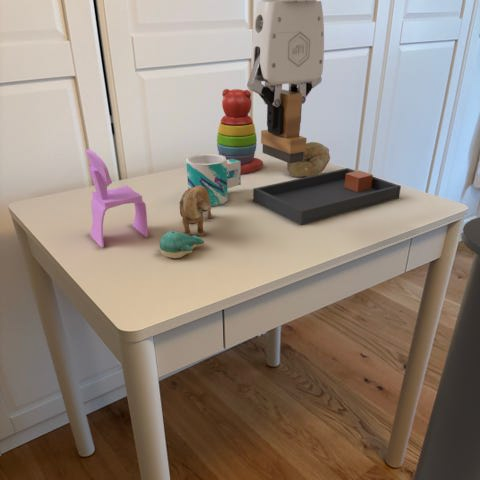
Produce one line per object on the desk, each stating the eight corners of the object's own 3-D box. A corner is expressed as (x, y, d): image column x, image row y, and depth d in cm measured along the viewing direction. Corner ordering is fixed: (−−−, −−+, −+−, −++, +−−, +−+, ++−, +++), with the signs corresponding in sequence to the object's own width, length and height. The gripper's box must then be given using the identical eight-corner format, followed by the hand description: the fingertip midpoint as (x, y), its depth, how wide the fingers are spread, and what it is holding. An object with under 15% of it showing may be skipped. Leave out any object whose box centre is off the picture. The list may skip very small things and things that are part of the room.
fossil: (285, 145, 116) (328, 136, 113) (289, 155, 120) (330, 148, 117) (286, 178, 113) (330, 171, 111) (290, 188, 117) (332, 181, 115)
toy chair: (153, 238, 85) (143, 149, 77) (104, 250, 81) (87, 157, 73) (135, 223, 91) (123, 139, 83) (88, 233, 87) (71, 146, 79)
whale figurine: (154, 251, 81) (151, 229, 79) (193, 240, 84) (191, 219, 82) (170, 264, 77) (168, 241, 75) (210, 252, 80) (209, 230, 78)
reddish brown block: (371, 188, 105) (373, 174, 103) (357, 192, 103) (359, 178, 101) (357, 184, 107) (359, 170, 106) (344, 187, 106) (345, 173, 104)
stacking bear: (265, 165, 122) (266, 86, 113) (251, 176, 115) (251, 93, 105) (225, 161, 126) (223, 84, 116) (209, 172, 118) (205, 91, 108)
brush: (305, 161, 76) (309, 94, 71) (289, 164, 75) (292, 96, 70) (275, 150, 82) (277, 87, 77) (260, 152, 81) (261, 89, 76)
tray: (346, 179, 112) (347, 167, 111) (399, 198, 101) (401, 185, 100) (253, 201, 101) (253, 188, 99) (300, 225, 90) (301, 211, 88)
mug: (180, 199, 102) (177, 158, 97) (223, 186, 109) (222, 147, 104) (206, 209, 97) (204, 166, 92) (250, 195, 104) (250, 154, 99)
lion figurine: (212, 244, 83) (210, 191, 78) (180, 245, 83) (176, 192, 78) (212, 212, 95) (210, 165, 90) (184, 213, 95) (181, 166, 90)
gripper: (254, -12, 60) (253, 143, 70) (353, -12, 67) (339, 130, 77) (223, -11, 66) (226, 133, 76) (318, -11, 73) (309, 121, 83)
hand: (283, 130), depth 76 cm, fingers closed on brush, 2 cm apart
